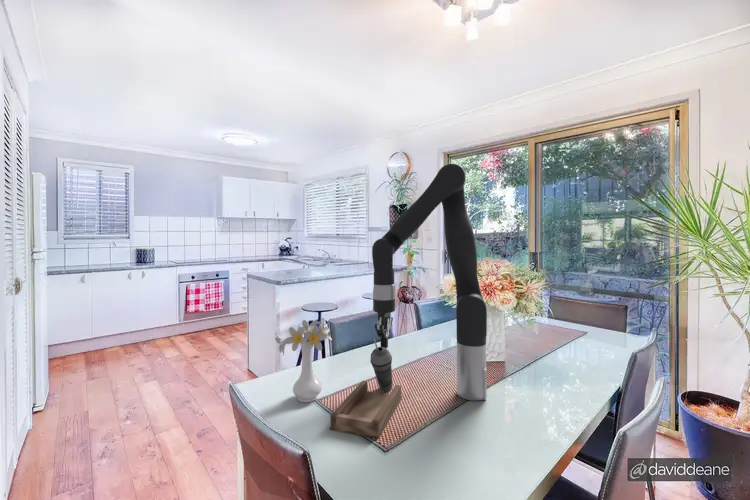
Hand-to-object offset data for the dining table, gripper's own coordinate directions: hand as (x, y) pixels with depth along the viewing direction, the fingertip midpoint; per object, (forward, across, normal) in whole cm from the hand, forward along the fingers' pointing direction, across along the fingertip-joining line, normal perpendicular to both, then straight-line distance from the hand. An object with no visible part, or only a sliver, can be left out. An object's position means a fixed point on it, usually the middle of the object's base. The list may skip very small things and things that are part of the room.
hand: (384, 347), depth 118 cm
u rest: (+14, -16, -1) cm, 22 cm away
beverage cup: (+14, 0, 0) cm, 14 cm away
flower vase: (+15, -15, +22) cm, 30 cm away
